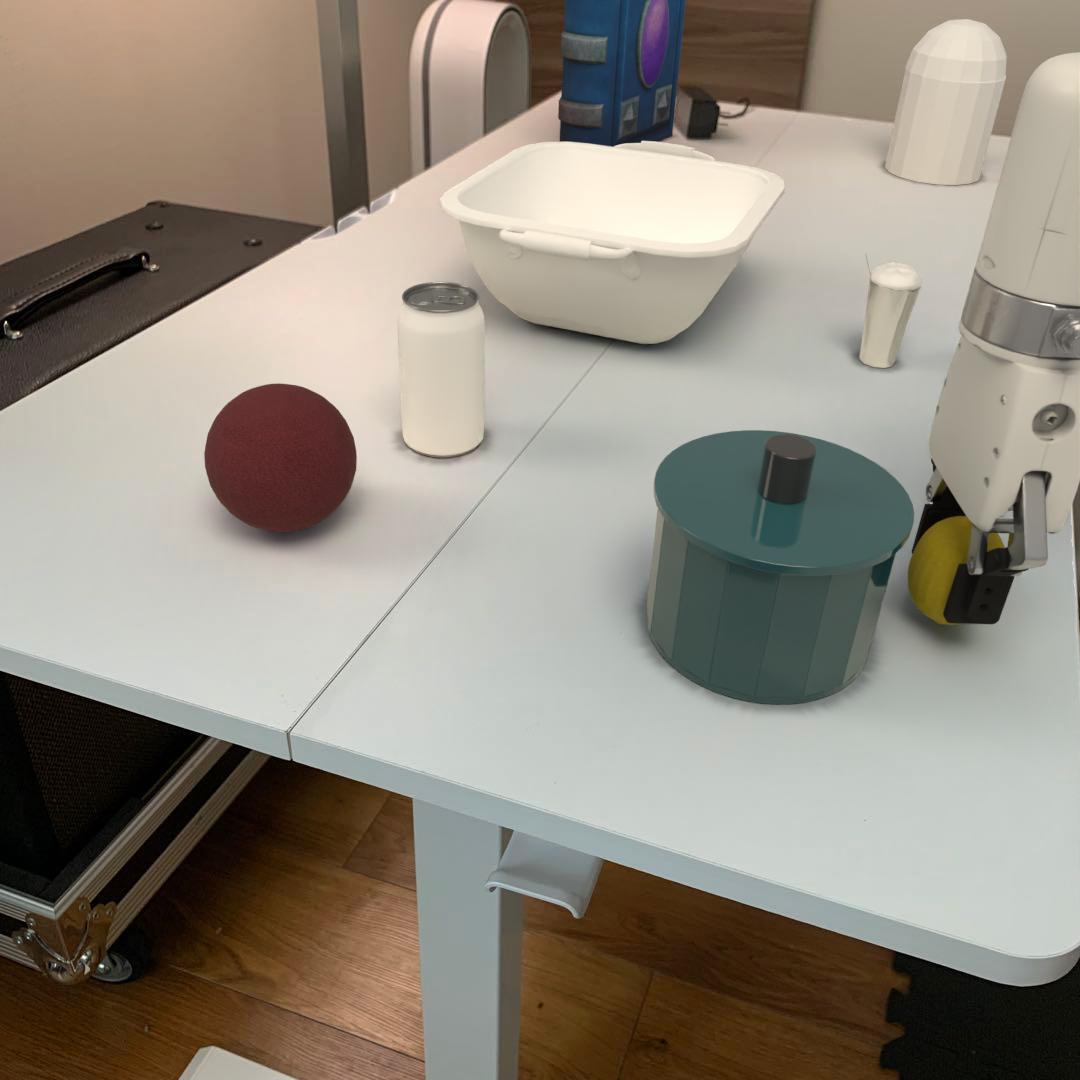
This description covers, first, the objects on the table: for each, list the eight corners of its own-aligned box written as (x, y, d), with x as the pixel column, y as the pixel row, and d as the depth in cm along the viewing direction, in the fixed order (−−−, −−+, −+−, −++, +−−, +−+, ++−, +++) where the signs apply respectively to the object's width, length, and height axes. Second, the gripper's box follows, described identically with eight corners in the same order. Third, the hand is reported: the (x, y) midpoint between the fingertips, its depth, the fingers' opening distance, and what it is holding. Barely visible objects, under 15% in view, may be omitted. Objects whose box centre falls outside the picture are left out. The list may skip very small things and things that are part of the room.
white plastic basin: (541, 238, 125) (545, 125, 118) (782, 278, 117) (803, 159, 109) (405, 350, 99) (399, 212, 91) (704, 411, 90) (724, 266, 83)
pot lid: (871, 449, 68) (885, 389, 65) (944, 588, 56) (965, 521, 53) (641, 443, 67) (647, 383, 65) (666, 582, 55) (674, 515, 53)
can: (408, 418, 88) (402, 277, 81) (486, 421, 88) (487, 281, 81) (397, 457, 82) (389, 311, 76) (480, 461, 82) (481, 315, 76)
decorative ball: (276, 580, 69) (258, 445, 63) (186, 521, 74) (161, 392, 69) (390, 518, 75) (383, 390, 70) (300, 467, 81) (286, 345, 75)
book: (601, 171, 148) (618, -80, 131) (548, 160, 152) (558, -85, 135) (680, 138, 165) (704, -89, 148) (630, 128, 169) (648, -93, 152)
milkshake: (841, 347, 102) (862, 245, 96) (898, 352, 102) (923, 250, 96) (845, 368, 98) (868, 263, 93) (905, 373, 98) (931, 268, 92)
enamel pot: (838, 566, 72) (867, 444, 67) (894, 706, 61) (935, 573, 56) (638, 562, 72) (651, 439, 67) (658, 702, 61) (676, 567, 55)
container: (870, 172, 153) (901, 18, 141) (902, 153, 162) (934, 7, 150) (964, 191, 146) (1005, 31, 135) (992, 170, 156) (1032, 19, 144)
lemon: (879, 622, 68) (908, 517, 63) (920, 585, 71) (950, 483, 66) (962, 663, 65) (999, 556, 60) (1000, 623, 68) (1038, 518, 63)
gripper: (1194, 389, 49) (1069, 683, 59) (1045, 258, 63) (965, 514, 73) (1032, 385, 49) (935, 681, 59) (919, 254, 63) (856, 511, 73)
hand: (952, 586), depth 66 cm, fingers closed on lemon, 5 cm apart
